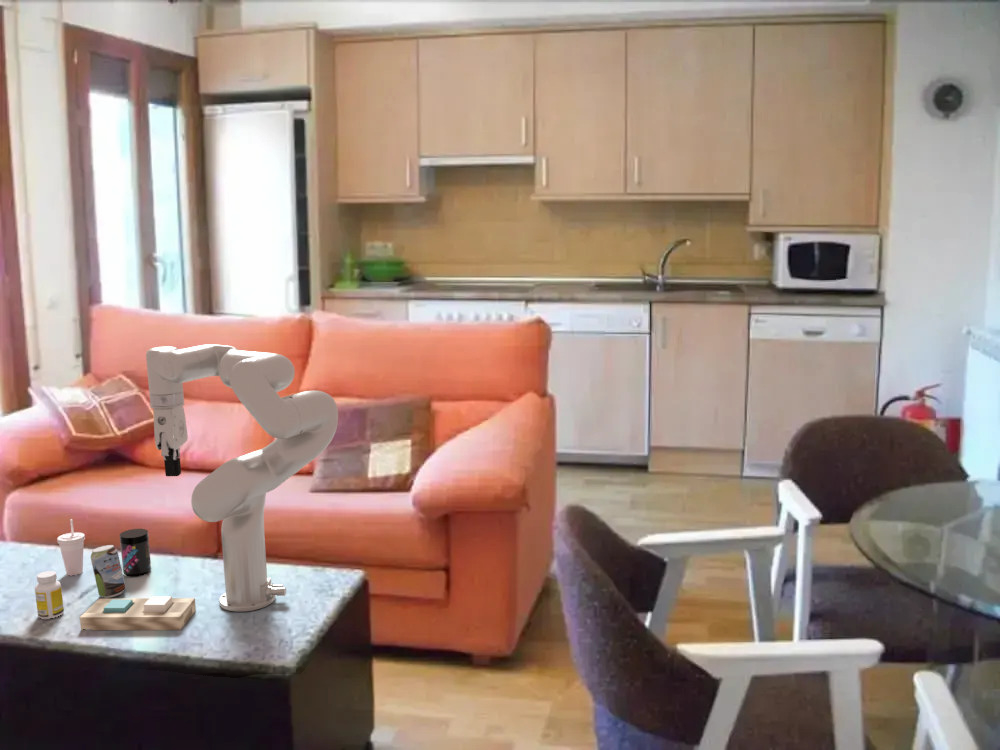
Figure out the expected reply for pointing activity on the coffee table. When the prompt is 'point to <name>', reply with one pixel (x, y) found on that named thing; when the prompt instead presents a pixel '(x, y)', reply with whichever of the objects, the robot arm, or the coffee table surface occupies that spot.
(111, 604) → the teal key
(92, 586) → the coffee table surface
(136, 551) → the supplement container
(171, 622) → the key block
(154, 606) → the white key
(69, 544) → the smoothie
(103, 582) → the beverage can
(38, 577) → the supplement bottle
